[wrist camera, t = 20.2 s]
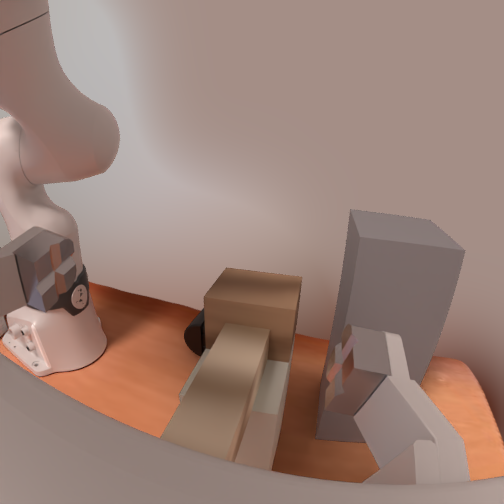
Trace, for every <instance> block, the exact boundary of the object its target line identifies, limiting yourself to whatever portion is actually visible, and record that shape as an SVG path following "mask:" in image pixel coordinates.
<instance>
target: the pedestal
mask: <svg viewBox="0 0 504 504" xmlns="http://www.w3.org/2000/svg"><path fill="white" fill-rule="evenodd" d="M464 254H465V250H464V249H463V248H462V247H461V246H460V245H458V244H457V243H456V242H455V241H454V240H453V239H452V238H451V237H450V236H448V235H447V234H446V233H445V232H444V231H443V230H441V229H440V228H439V227H437V225H435V224H434V223H433V222H432V221H431V220H426V219H419V218H413V217H406V216H399V215H391V214H384V213H376V212H367V211H359V210H350V216H349V224H348V232H347V240H346V247H345V254H344V261H343V268H342V275H341V281H340V288H339V293H338V299H337V305H336V310H335V316H334V321H333V327H332V332H331V337H330V342H329V346H328V351H327V356H326V361H325V365H324V370H323V374H322V379H321V383H320V395H319V406H318V417H317V427H316V436H315V439H320V440H331V441H344V442H361V443H366V441H365V439H364V437H363V435H362V433H361V432H360V430H359V428H358V426H357V424H356V422H355V420H354V418H353V417H354V416H350V415H345V414H340V413H336V412H331V411H326V410H325V394H326V389H327V388H328V386H329V384H330V382H329V381H328V379H327V378H326V374H327V366H328V362H329V359H330V355H331V353H332V351H333V349H334V347H335V345H337V344H339V343H341V342H342V336H341V334H342V332H343V330H344V329H345V327H346V326H347V325H348V324H352V325H356V326H361V327H365V328H369V329H373V330H377V331H381V332H382V331H384V332H389V333H394V334H398V335H400V337H401V339H402V343H403V348H404V352H405V357H406V361H407V366H408V371H409V376H410V380H415V381H416V382H417V384H418V385H419V386H420V384H421V382H422V380H423V377H424V375H425V373H426V370H427V368H428V366H429V363H430V361H431V358H432V356H433V353H434V351H435V348H436V345H437V343H438V340H439V337H440V335H441V332H442V329H443V326H444V323H445V320H446V317H447V314H448V311H449V308H450V305H451V302H452V299H453V295H454V292H455V288H456V285H457V281H458V278H459V274H460V270H461V266H462V262H463V258H464Z"/></svg>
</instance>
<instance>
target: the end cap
mask: <svg viewBox="0 0 504 504" xmlns="http://www.w3.org/2000/svg"><path fill="white" fill-rule="evenodd" d="M184 339H185V342H186V344H187V346H188V347H189V348H190V349H191V350H192V351H193V352H194V353H196V354H198V355H199V356H202V354H203V352H204V351H205V349H206V341H205V317H204V308H203V310H202V311H201V312H200V313H199V314H198V315H197V317H196V318H195V319H194V320H193V321H192V322H191V324H190V325H189V326H188V327H187V328H186V330H185V333H184Z"/></svg>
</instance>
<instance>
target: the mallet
mask: <svg viewBox="0 0 504 504" xmlns="http://www.w3.org/2000/svg"><path fill="white" fill-rule="evenodd" d="M301 282H302V277H299V276H290V275H282V274H274V273H265V272H257V271H250V270H241V269H233V268H226V269H225V270H224V271H223V273H222V274H221V275H220V276H219V278H218V279H217V280H216V282H215V283H214V284H213V286H212V287H211V288H210V289H209V291H208V292H207V293H206V295H205V296H204V317H205V341H206V349H210V351H209V353H208V355H207V357H206V358H205V360H204V362H203V364H202V365H201V367H200V369H199V371H198V373H197V374H196V376H195V378H194V380H193V381H192V383H191V385H190V387H189V388H188V390H187V392H186V394H185V395H184V397H183V399H182V401H181V402H180V404H179V406H178V408H177V409H176V411H175V413H174V415H173V416H172V418H171V420H170V422H169V423H168V425H167V427H166V429H165V430H164V432H163V434H162V436H161V437H160V438H161V439H163V440H166V441H169V442H171V443H174V444H177V445H180V446H183V447H186V448H189V449H192V450H195V451H198V452H201V453H204V454H207V455H211V456H214V457H218V458H221V459H225V460H228V461H232V462H235V459H236V456H237V453H238V450H239V447H240V444H241V441H242V438H243V435H244V432H245V429H246V426H247V423H248V420H249V417H250V414H251V411H252V408H253V405H254V402H255V398H256V395H257V392H258V389H259V386H260V382H261V379H262V376H263V373H264V369H265V366H266V363H267V360H273V361H280V362H287V363H289V360H290V355H291V350H292V345H293V340H294V335H295V330H296V325H297V317H298V309H299V300H300V292H301Z"/></svg>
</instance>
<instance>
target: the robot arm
mask: <svg viewBox="0 0 504 504" xmlns="http://www.w3.org/2000/svg"><path fill="white" fill-rule="evenodd" d="M0 109H2V110H4V111H6V112H7V113H9V114H10V115H11V116H9V117H5V118H1V119H0V212H1V214H2V216H3V218H4V221H5V223H6V225H7V228H8V231H9V234H10V237H11V242H10V243H8V244H7V245H5V246H4V247H3V248H1V247H0V317H2V316H4V315H6V314H7V322H8V326H9V329H8V331H7V332H6V333H5V335H4V337H3V339H2V341H3V344H4V346H5V347H6V348H7V349H8V350H9V351H10V352H11V353H13V354H14V355H15V356H16V357H17V358H18V359H19V360H20V361H21V362H22V363H23V364H24V365H25V366H26V367H27V368H28V369H30V370H31V371H32V372H33V373H34V374H35V375H37V376H45V375H48V374H51V373H54V372H61V371H71V370H75V369H79V368H82V367H84V366H86V365H88V364H90V363H92V362H93V361H95V360H96V359H97V358H98V357H99V356H100V355H101V354H102V353H103V352H104V350H105V348H106V345H107V338H106V335H105V334H104V332H103V330H102V328H101V320H100V318H99V317H98V316H97V314H96V311H95V308H94V305H93V302H92V298H91V295H90V292H89V283H88V278H87V277H88V276H87V272H86V268H85V266H84V265H83V264H82V258H81V251H80V243H79V236H78V227H77V224H76V221H75V220H74V218H73V217H72V215H71V214H70V213H69V212H68V211H66V210H65V209H63V208H61V207H59V206H57V205H55V204H54V203H53V202H52V201H51V200H50V198H49V197H48V196H47V194H46V192H45V189H44V185H43V184H48V183H60V182H71V181H77V180H81V179H84V178H88V177H91V176H95V175H98V174H101V173H104V172H105V171H106V170H107V169H108V168H109V167H110V165H111V164H112V163H113V161H114V159H115V157H116V154H117V152H118V148H119V141H120V134H119V128H118V124H117V122H116V120H115V118H114V116H113V114H112V113H111V112H110V111H109V110H108V109H107V108H106V107H104V106H103V105H100V104H98V103H96V102H94V101H92V100H91V99H89V98H88V97H86V96H85V95H83V94H82V93H81V92H80V91H79V90H78V89H77V88H76V87H75V86H74V85H73V84H72V83H71V82H70V80H69V79H68V78H67V76H66V75H65V73H64V72H63V70H62V68H61V66H60V64H59V61H58V58H57V55H56V51H55V46H54V42H53V36H52V31H51V24H50V15H49V6H48V0H0ZM341 336H342V342H341V343H339V344H337V345H335V347H334V349H333V351H332V353H331V355H330V359H329V362H328V366H327V374H326V378H327V379H328V381H329V382H330V384H329V386H328V388H327V389H326V394H325V410H326V411H331V412H336V413H340V414H345V415H350V416H354V417H353V418H354V420H355V422H356V424H357V426H358V428H359V430H360V432H361V433H362V435H363V437H364V439H365V441H366V443H367V445H368V447H369V449H370V451H371V453H372V455H373V457H374V459H375V461H376V463H377V464H378V466H379V468H380V470H378V471H377V472H376V473H374V474H373V475H371V476H370V477H369V478H367V479H366V480H365V481H363V483H353V482H342V481H332V480H324V479H316V478H309V477H303V476H297V475H291V474H285V473H280V472H275V471H270V470H265V469H261V468H256V467H252V466H248V465H244V464H240V463H236V462H232V461H228V460H225V459H221V458H218V457H214V456H211V455H207V454H204V453H201V452H198V451H195V450H192V449H189V448H186V447H183V446H180V445H177V444H174V443H171V442H169V441H166V440H163V439H161V438H158V437H155V436H153V435H150V434H148V433H145V432H143V431H140V430H138V429H136V428H133V427H131V426H129V425H126V424H124V423H122V422H120V421H117V420H115V419H113V418H111V417H109V416H107V415H105V414H102V413H100V412H98V411H96V410H94V409H92V408H90V407H88V406H86V405H85V404H83V403H81V402H79V401H77V400H75V399H73V398H71V397H70V396H68V395H66V394H64V393H62V392H61V391H59V390H57V389H55V388H54V387H52V386H50V385H49V384H47V383H45V382H44V381H42V380H40V379H39V378H37V377H36V376H34V375H32V374H31V373H29V372H28V371H26V370H25V369H23V368H22V367H20V366H19V365H17V364H16V363H14V362H13V361H11V360H10V359H9V358H7V357H6V356H4V355H3V354H1V353H0V504H504V476H501V477H495V478H489V479H482V480H474V481H470V476H469V469H468V463H467V457H466V451H465V445H464V440H463V439H462V438H461V436H460V435H459V434H458V433H457V431H456V430H455V429H454V428H453V426H452V425H451V424H450V423H449V421H448V420H447V419H446V418H445V416H444V415H443V414H442V413H441V412H440V410H439V409H438V408H437V407H436V405H435V404H434V403H433V402H432V401H431V399H430V398H429V397H428V396H427V394H426V393H425V392H424V391H423V390H422V388H421V387H420V386H419V385H418V384H417V382H416V381H415V380H410V376H409V371H408V366H407V361H406V357H405V352H404V348H403V343H402V339H401V337H400V335H398V334H394V333H389V332H384V331H382V332H381V331H377V330H373V329H369V328H365V327H361V326H356V325H352V324H348V325H347V326H346V327H345V329H344V330H343V332H342V334H341Z"/></svg>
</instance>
